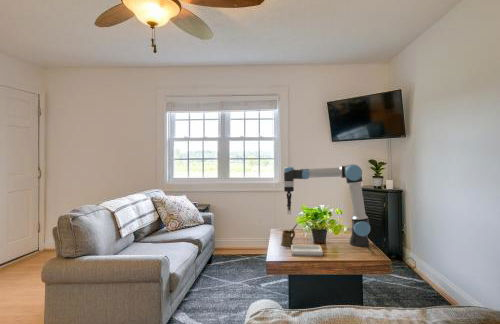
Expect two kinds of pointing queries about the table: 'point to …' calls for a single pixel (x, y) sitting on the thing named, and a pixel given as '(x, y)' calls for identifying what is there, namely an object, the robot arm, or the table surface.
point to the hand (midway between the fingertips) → (289, 212)
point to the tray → (306, 250)
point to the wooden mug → (288, 237)
